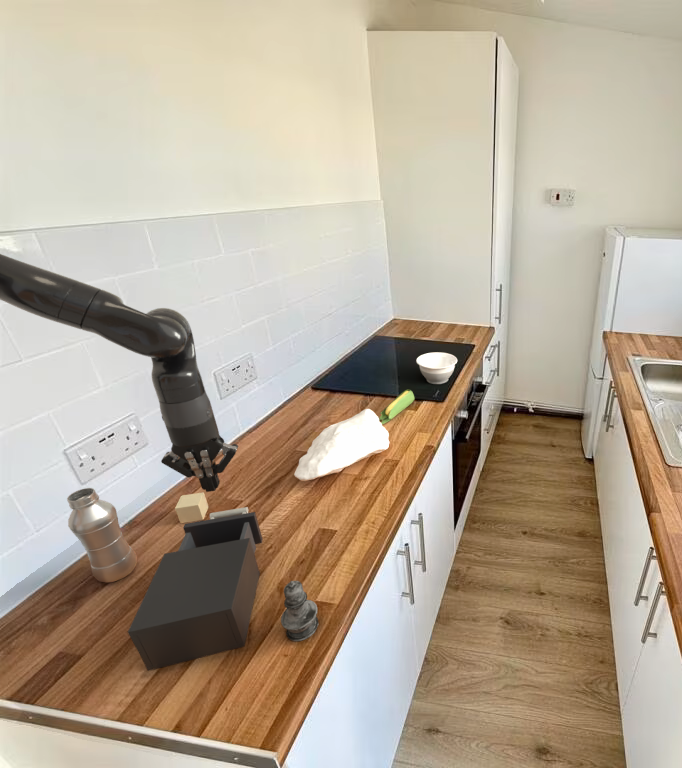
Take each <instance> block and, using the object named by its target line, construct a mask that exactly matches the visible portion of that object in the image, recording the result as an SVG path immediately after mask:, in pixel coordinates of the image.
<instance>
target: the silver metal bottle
mask: <svg viewBox="0 0 682 768" xmlns="http://www.w3.org/2000/svg"><path fill="white" fill-rule="evenodd" d="M66 500H67V503H68V504H69V508H70V509H71V510H72V511H71V513H70V514H69V517H68V520H67V523H68V525H67V526H68V528H69V530H70V531H71V532H72V533H73V535H74V536H75V537H76V539H77V540H78V541H79V542H80V543H81V545H82V547H83V548H84V550H85V552H86V555H87V558H88V560H89V563H90V570H91V574H92V576H93V578H95V580H96V581H98V582H101V583H108V584H109V583H113V582H117V581H120V580H122V579H124V578H125V577H127V576H128V575H130V574H131V573H133V571H134V569H135V568H136V566H137V564H138V556H137V553H136V551H135V549H133V548H132V546H130V544H129V543H128V541H127V539H126V538H125V535H123V532H122V529H121V526H120V523H119V518H118V513H117V509H116V507H115V505H113V503H111V502H109V501H106V500H103V499H100V495H99V494H98V493H97V491H96V489H94V488H93V487H85V488H80V489H78V490H76V491H73V492H71V494H69V495H68V496H67V498H66Z"/></svg>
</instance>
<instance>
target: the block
mask: <svg viewBox="0 0 682 768" xmlns="http://www.w3.org/2000/svg"><path fill="white" fill-rule="evenodd" d="M174 510H175V513H176V515H177V518H178V521H179V523H180V524H187V523H192V522H198V521H204V519H205V517H206V515H207V511H208V510H209V504H208V501H207V498H206V495H205V492H204V491H203V492H197V493H196V492H195V493H190V494H183V495H181V496H180V497H179V499H178V502H177V503H176V505H175V507H174Z"/></svg>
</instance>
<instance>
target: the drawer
mask: <svg viewBox="0 0 682 768" xmlns="http://www.w3.org/2000/svg"><path fill="white" fill-rule="evenodd" d="M182 529H183V532H184V537H183V538H182V541H181V543H180V545H179V547H178V550H177V551H182V550H187V549H192V548H198V547H203V546H209V545H214V544H219V543H225V542H230V541H236V540H241V539H246V538H250V542H251V545H252V548H253V552H254V555H255V554H256V550H257V546H256V545H260V544H262V543H263V539H264V538H263V536H262V532H261V528H260V525H259V521H258V516H257V513H256V511H252V512H249V507H248V506H245V507H238V508H233V509H227V510H220V511H215V512H210V513H209V519H205V520H204V519H203V520H199V521H193V522H187V523H184V525H183V527H182ZM255 556H256V555H255Z"/></svg>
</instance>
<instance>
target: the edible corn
mask: <svg viewBox="0 0 682 768" xmlns="http://www.w3.org/2000/svg"><path fill="white" fill-rule="evenodd" d="M414 401H415V394H414V393H413V391H412V390H411V389H405V390H404V391H402V392H401V393H400V394H399V395H398V396H396V398H394V400H392V401H391V403H389V404H388V405H387V406H386V407H385V408H384V409H383V410H382V411H381V412H380V413H379V414H380V416H379V421H380V422H381V423H382V425H384V424H386V423H388V422H390V421H391V420H393V419H394V418H395V417H397V415H398V414H400V413H401V412H403V411H404V410H406V409H407V408H408V407H409V406H410V405H412V403H413V402H414Z"/></svg>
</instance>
